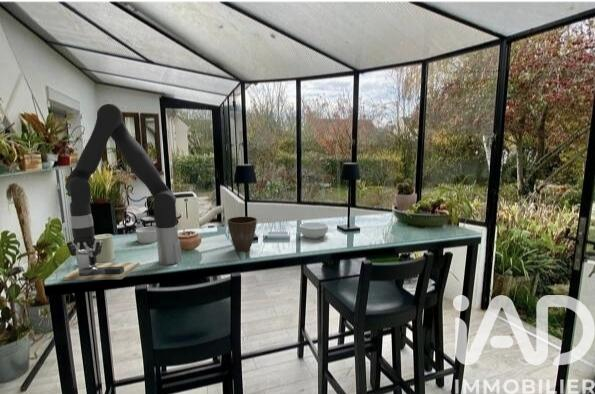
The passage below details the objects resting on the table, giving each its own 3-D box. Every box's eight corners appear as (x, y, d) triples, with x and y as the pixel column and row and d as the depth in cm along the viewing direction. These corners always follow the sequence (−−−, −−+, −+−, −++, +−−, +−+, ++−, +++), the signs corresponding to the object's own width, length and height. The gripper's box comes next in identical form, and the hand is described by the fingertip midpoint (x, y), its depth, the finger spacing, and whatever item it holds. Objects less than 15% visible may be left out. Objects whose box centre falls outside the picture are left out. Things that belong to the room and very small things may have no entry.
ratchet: (126, 269, 141) (125, 254, 140) (118, 275, 134) (117, 259, 133) (85, 270, 141) (83, 255, 139) (75, 276, 134) (73, 260, 133)
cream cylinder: (118, 259, 158) (115, 235, 156) (96, 264, 151) (93, 239, 149) (111, 255, 164) (108, 231, 162) (90, 260, 157) (87, 235, 155)
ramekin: (161, 242, 184) (160, 230, 183) (135, 245, 179) (134, 233, 178) (161, 236, 196) (160, 225, 195) (137, 239, 192) (136, 227, 191)
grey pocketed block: (96, 263, 139) (94, 250, 138) (89, 267, 135) (87, 253, 134) (85, 263, 139) (83, 250, 138) (78, 267, 135) (76, 253, 134)
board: (139, 265, 149) (139, 262, 149) (121, 279, 134) (121, 276, 133) (87, 265, 149) (87, 263, 149) (62, 280, 134) (62, 277, 133)
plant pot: (253, 243, 180) (252, 215, 177) (260, 251, 166) (259, 221, 164) (226, 247, 175) (225, 217, 172) (231, 255, 161) (230, 224, 158)
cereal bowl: (328, 241, 184) (329, 228, 183) (299, 241, 184) (299, 229, 183) (326, 233, 200) (326, 221, 199) (299, 233, 201) (299, 221, 200)
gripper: (105, 223, 138) (109, 261, 141) (71, 223, 138) (76, 262, 141) (94, 227, 130) (99, 268, 133) (58, 227, 130) (64, 268, 133)
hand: (87, 264), depth 137 cm, fingers closed on grey pocketed block, 4 cm apart
